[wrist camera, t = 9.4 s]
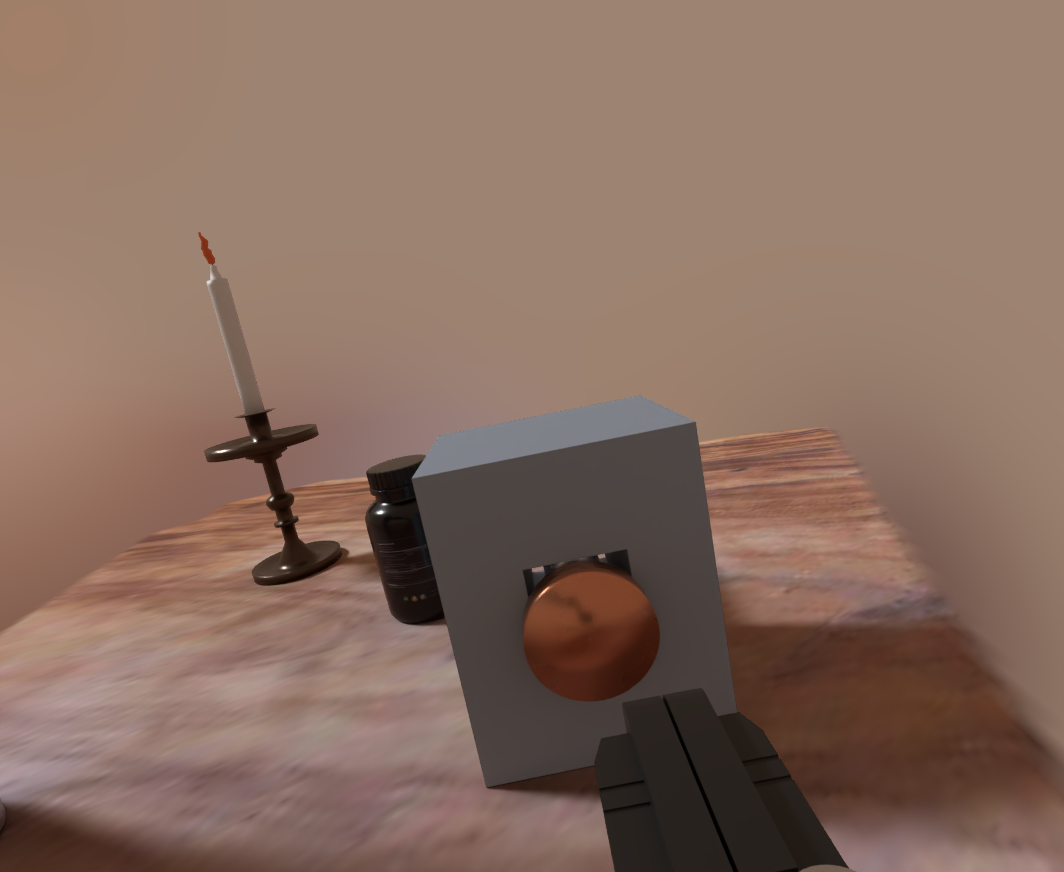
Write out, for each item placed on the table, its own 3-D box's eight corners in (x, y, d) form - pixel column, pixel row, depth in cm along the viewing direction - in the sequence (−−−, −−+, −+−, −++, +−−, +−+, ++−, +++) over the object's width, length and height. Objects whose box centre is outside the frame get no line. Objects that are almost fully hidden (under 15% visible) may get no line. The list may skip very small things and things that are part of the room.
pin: (669, 686, 24) (648, 563, 23) (537, 713, 24) (511, 590, 23) (596, 528, 43) (583, 457, 42) (523, 543, 43) (509, 472, 42)
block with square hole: (740, 735, 26) (695, 421, 24) (486, 787, 26) (411, 478, 24) (677, 626, 36) (640, 395, 34) (491, 663, 36) (439, 435, 33)
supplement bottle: (404, 589, 50) (371, 459, 48) (480, 578, 49) (450, 445, 47) (378, 631, 43) (338, 481, 41) (465, 619, 43) (429, 466, 40)
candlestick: (321, 582, 56) (216, 210, 49) (222, 595, 58) (108, 238, 51) (365, 539, 66) (284, 228, 60) (281, 551, 68) (192, 250, 62)
